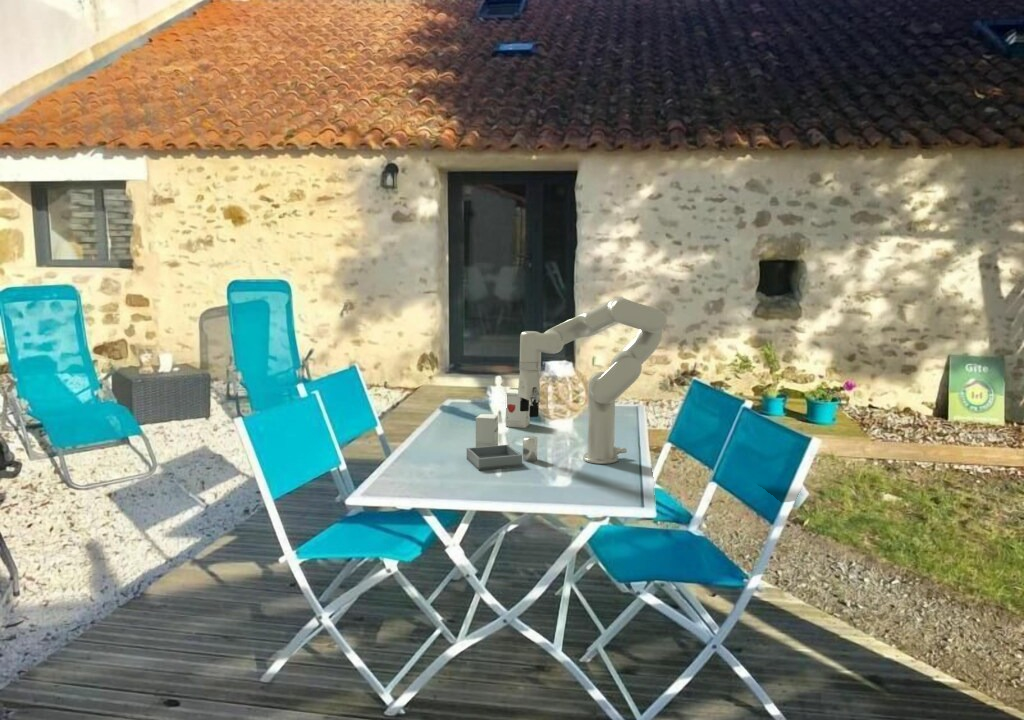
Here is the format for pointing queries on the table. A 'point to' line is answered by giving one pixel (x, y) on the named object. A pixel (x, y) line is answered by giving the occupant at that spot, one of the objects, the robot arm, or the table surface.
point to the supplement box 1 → (486, 430)
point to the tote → (494, 457)
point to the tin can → (530, 448)
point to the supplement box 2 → (516, 411)
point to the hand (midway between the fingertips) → (529, 413)
